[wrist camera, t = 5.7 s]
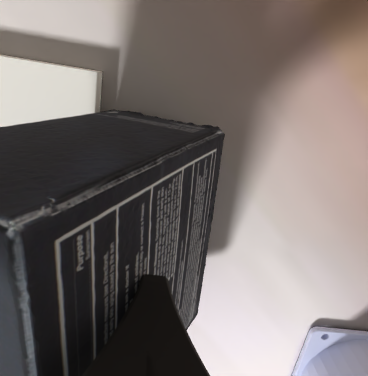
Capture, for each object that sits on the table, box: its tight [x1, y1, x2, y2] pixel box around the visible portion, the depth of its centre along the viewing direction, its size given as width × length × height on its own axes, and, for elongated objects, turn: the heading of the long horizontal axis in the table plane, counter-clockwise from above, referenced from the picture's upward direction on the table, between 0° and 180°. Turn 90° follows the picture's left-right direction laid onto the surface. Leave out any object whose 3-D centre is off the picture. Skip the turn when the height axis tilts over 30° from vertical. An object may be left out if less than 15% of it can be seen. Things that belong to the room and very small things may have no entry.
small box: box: [0, 110, 225, 376], centre depth 12 cm, size 11×6×10 cm, turn 174°
